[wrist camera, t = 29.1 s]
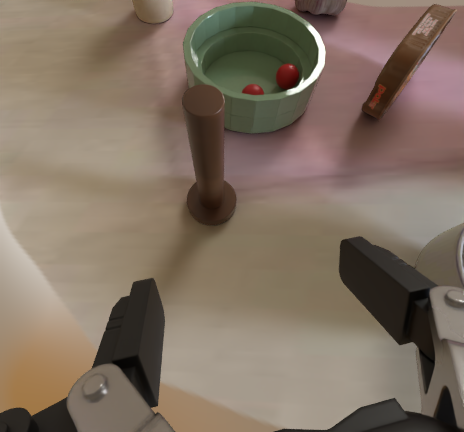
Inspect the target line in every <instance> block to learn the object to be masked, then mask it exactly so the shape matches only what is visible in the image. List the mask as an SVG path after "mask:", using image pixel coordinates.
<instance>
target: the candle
mask: <svg viewBox="0 0 464 432" xmlns="http://www.w3.org/2000/svg"><path fill="white" fill-rule="evenodd" d="M132 2H133V5H134V9H135V12H136V14H137V16H138V18H139V19H140V20H142V21H144V22H147V23H161V22H164V21H166V20H168V19H169V18H170V17H171V16H172V14H173V4H172V0H132Z"/></svg>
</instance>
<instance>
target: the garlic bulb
mask: <svg viewBox="0 0 464 432" xmlns="http://www.w3.org/2000/svg"><path fill="white" fill-rule="evenodd" d="M346 2H347V0H295V5H296V7H297V9H298V10H300V11H307V10H308V11H309V12H311V13H312V14H315V15H318V14H321V13H323V14H329V15H337V14H339V13H340V12H341V11H342V10H343V9H344V7H345V5H346Z"/></svg>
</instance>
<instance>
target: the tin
mask: <svg viewBox="0 0 464 432" xmlns="http://www.w3.org/2000/svg"><path fill="white" fill-rule="evenodd" d="M456 11H457V10H456V9H455V10H452V9H449V8H446V7H444V6H441V5H436V4H434V5H432V6H431V7H429V9H428V10H427V11H426V12H425V13H424V14H423V16H422V17H421V18H420V19H419V20H418V22H417V23H416V24H415V25H414V26H413V28H412V29H411V30H410V31H409V33H408V34H407V35H406V36H405V38H404V39H403V40H402V42H401V43H400V44H399V45H398V47H397V48H396V50H395V51H394V52H393V54H392V55H391V57H390V58H389V60H388V61H387V63H386V65H385V66H384V68H383V69H382V71H381V73H380V74H379V76H378V78H377V80H376V82H375V86H374V88H373V90H372V92H371V93H370V95H369V97H368V99H367V101H366V102H365V103H364V104H363V105H362V110H363V111H364V112H366V113H367V114H369V115H371V116H373V117H375V118H377V119H378V120H380V119H381V118H382V117H383V115H384V114H385V113H386V111H387V110H388V109H389V107H390V106H391V105H392V103H393V102H394V101H395V99H396V98H397V96H398V95H399V94H400V92H401V91H402V90H403V88H404V87H405V86H406V84H407V83H408V82H409V80H410V79H411V77H412V76H413V75H414V73H415V72H416V70H417V69H418V68H419V66H420V65H421V63H422V62H423V60H424V59H425V57H426V56H427V54H428V53H429V51H430V50H431V48H432V47H433V45H434V44H435V42H436V41H437V40H438V38H439V37H440V35H441V34H442V32H443V31H444V29H445V28H446V26H447V25H448V23H449V22H450V20H451V19H452V17H453V16H454V14H455V13H456Z"/></svg>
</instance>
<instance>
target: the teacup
mask: <svg viewBox="0 0 464 432" xmlns="http://www.w3.org/2000/svg"><path fill="white" fill-rule="evenodd" d="M415 269H416V270H417V271H418V272H420V273H421V274H423V275H424V276H425V277H427V278H428V279H430V280H431V281H433V282H434V283H435V284H437V285H438V286H442V285H446V286H454V287H458V288H462V289H464V223H462V224H460V225H458V226H456V227H453V228H451V229H449V230H447V231H445V232H443V233H442V234H440V235H438V236H437V237H435V238H434V239H432V240H431V241H430V242H429V243H428V244H427V245H426V246H425V247H424V248H423V250H422V252H421V253H420V255H419V257H418V259H417V263H416V268H415Z"/></svg>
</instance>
